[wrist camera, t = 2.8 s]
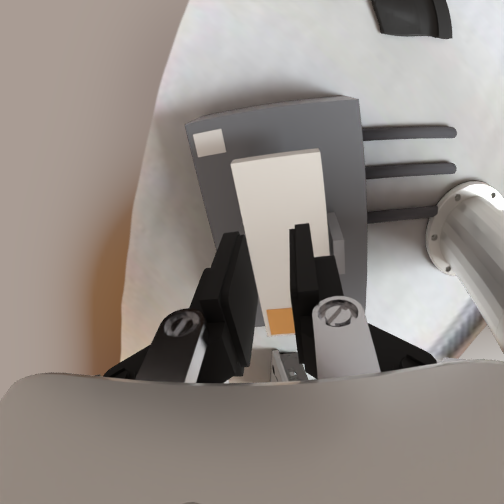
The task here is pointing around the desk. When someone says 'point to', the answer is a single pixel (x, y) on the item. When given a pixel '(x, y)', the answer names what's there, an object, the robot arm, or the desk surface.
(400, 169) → the three grey prongs
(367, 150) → the desk surface
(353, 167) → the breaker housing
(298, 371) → the electrical switch
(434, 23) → the fan shaped piece
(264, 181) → the breaker rocker
